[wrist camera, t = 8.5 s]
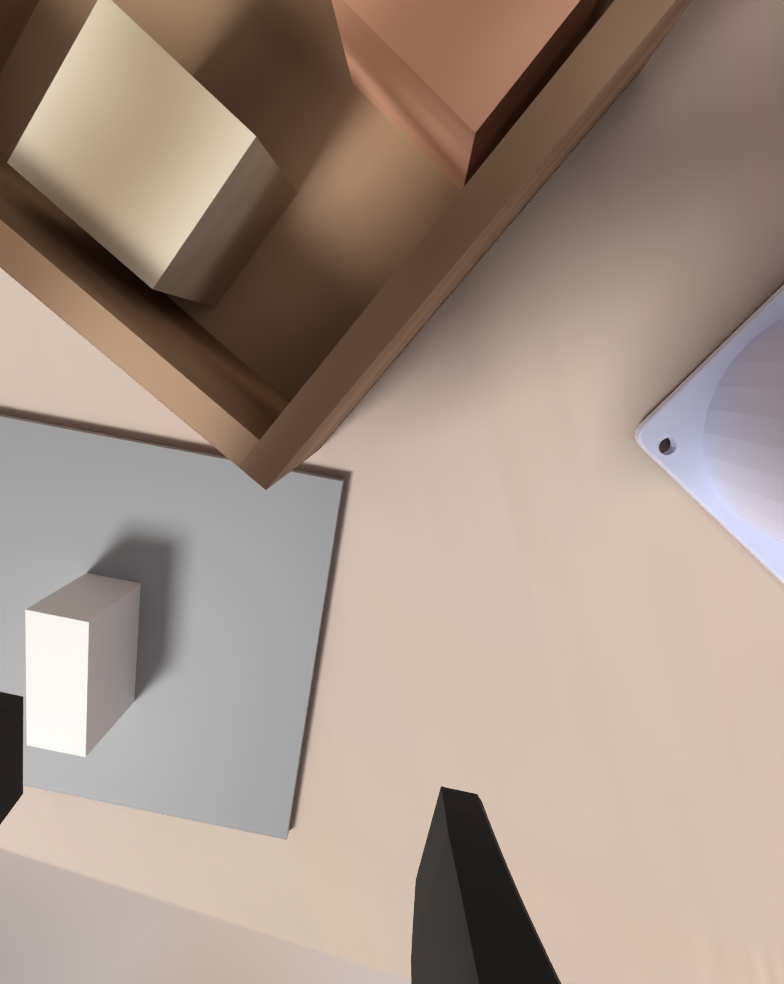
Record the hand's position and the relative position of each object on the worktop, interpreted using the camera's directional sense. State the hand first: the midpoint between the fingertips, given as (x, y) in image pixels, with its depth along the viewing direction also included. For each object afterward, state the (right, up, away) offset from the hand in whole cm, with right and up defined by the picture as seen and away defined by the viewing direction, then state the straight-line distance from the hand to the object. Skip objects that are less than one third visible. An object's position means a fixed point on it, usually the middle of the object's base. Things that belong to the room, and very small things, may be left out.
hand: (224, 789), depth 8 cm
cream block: (-3, +13, +6) cm, 15 cm away
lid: (-8, 0, +11) cm, 13 cm away
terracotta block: (+5, +16, +5) cm, 17 cm away
